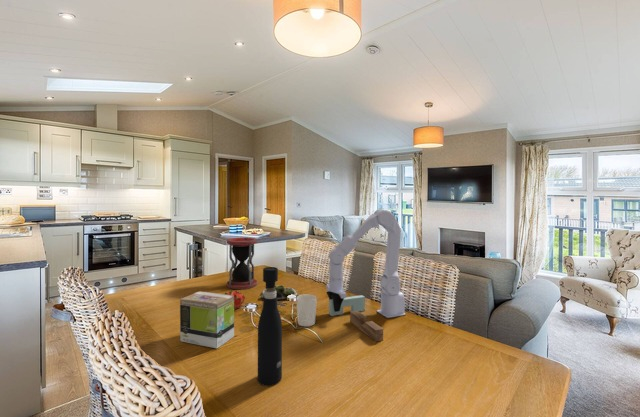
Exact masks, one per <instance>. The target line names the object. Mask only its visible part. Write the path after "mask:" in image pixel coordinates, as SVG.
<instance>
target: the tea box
mask: <svg viewBox="0 0 640 417" xmlns="http://www.w3.org/2000/svg"><path fill="white" fill-rule="evenodd" d="M179 308H180V309H179V320H180V322H179V323H180V324H179V325H180V326H179V330H180V332H179V334H180V335H179V336H180V341H179V342H183V343H187V344H193V345H197V346H202V347H206V348H213V349H218V348H220V347H222V346H223V345H225V344H226V343H227V342H228V341H230V340H231V339H233V338H234V337H235V309H234V295H226V294H225V293H218V292H217V293H216V292H209V291H201V290H199V291H197V292H194V293H192V294H190V295H187V296H185V297H182V298H180V299H179Z"/></svg>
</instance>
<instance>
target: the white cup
mask: <svg viewBox="0 0 640 417" xmlns="http://www.w3.org/2000/svg"><path fill="white" fill-rule="evenodd" d="M317 301H318V298H317V296H316V295H313V294H308V293H307V294H306V293H304V294H299V295H297V297H296V315H297V317H296V318H297V324H298V325H299V326H301V327H311V326H313V325H315V323H316V316H317V304H318V302H317Z"/></svg>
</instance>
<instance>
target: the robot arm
mask: <svg viewBox="0 0 640 417" xmlns="http://www.w3.org/2000/svg"><path fill="white" fill-rule="evenodd" d="M380 226H381V227H382V228H383V229H384V230H385V231H386V232H387V239H386V240H387V241H386V250H385V265H384V266H385V267H384V269H383V273H382V276H381V278H380V281H379V282H380V285H381V287H382V289H381V291H380V293H381V294H380V295H381V296H380V309H377V310H376V312H377V313H379V314H380V315H382V316H384V318H386V319H389V318H396V317H401V316H406V313H405V311H406V310H405V309H406V308H405V307H406V304H405V302H406V301H405V300H406V298H405V295H404V293H403V292H401V287H402V286H401V283H400V275H399V272H398V271H399V270H398V269H399V268H398V266H399V255H400V242H401V232H402V231H401V230H402V229H401V226H400V225H399V223H398V221H397V219H396V216H395V215H394V213H392V212H391V211H389V210H387V209H386V210H385V209H381V208H379V209H376V210H375V211H374V212H373V213H371V214H370V215H369V216H368V217H367V218H366V219H365V221H363V223H362V224H360V225H359V227H358V228H357V229H356V230H355V231H354V232H353V233H352V234H351V235H349V234H348V235H346V236H343V237H342V240H341V241H340V242H339V243H338V244H337V245H334V248H332V249H331V250H330V251H329V253H328V258H329V259H330V260H329V267H328V269H329V271H328V277H329V278H328V283H326V288H325V289H326V290H325V291H327V292H326V295H327V297H328V301H329V300H330V299H333V303H334V311H335V312H337V311H340V308H341V304H342V301H343V300H344V298H346V297H347V293H346V292H345V290H344V286H343V284H344V266H343V262H345V257H347V256H348V255H349V254H350V253H351V252H353V250H354V249H355V248H356V247H357V246H358V241H359V240H360V239H361V238H363V236H364V235H365V234H367V232H369V231H370V230H371V229H373V228H379V227H380Z"/></svg>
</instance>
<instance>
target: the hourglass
mask: <svg viewBox="0 0 640 417" xmlns="http://www.w3.org/2000/svg"><path fill="white" fill-rule="evenodd" d="M257 243H258V239H257V238H255V237H233V238H227V239H226V244H228V245H229V254H228V256H229V259H230V261H231V267H230V268H229V272H228V273H229V274H228V275H229V276H228V278H229V280H227V282H226V287H227V288H228V289H231V290H246V289H252V288H255V287H257V285H258V280H257V279H255V266H254V263H253V258H254V256H255V244H257ZM232 255H233V256H232ZM233 257H234V259H233ZM245 262H246V263H245ZM250 265H251V266H250Z"/></svg>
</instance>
